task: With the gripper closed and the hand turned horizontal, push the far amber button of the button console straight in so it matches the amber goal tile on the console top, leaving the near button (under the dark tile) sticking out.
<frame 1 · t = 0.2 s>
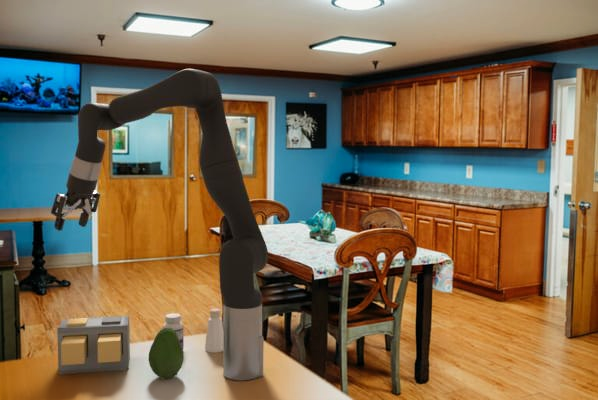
hand: (70, 227, 164), 31 cm above the table, tool tilted 20°, fingers open, 8 cm apart
pepper shaker: (215, 350, 159), on the table
pill bottle: (173, 351, 157), on the table
fruit: (166, 378, 139), on the table
far button: (75, 348, 140), point 6 cm above the table, slide at 0.0 cm
console: (95, 365, 146), on the table
near button: (110, 345, 141), point 7 cm above the table, slide at 0.0 cm
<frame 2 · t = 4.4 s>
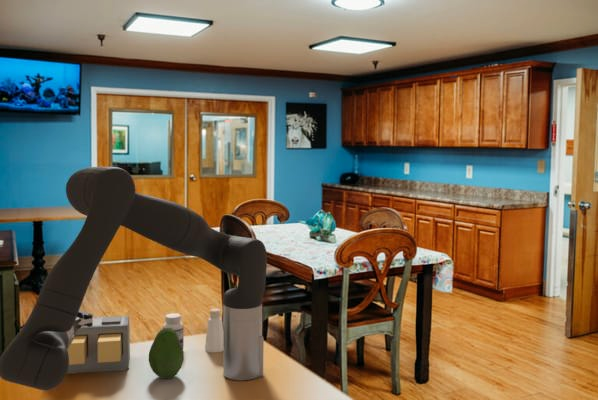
hand: (68, 309, 130), 18 cm above the table, tool horizontal, fingers closed
nothing on the table moved.
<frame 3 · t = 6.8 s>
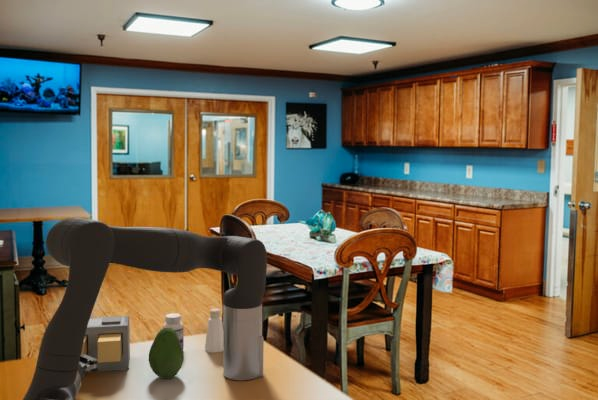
hand: (73, 353, 136), 6 cm above the table, tool horizontal, fingers closed
far button: (75, 347, 140), point 7 cm above the table, slide at 0.6 cm, touching gripper
everything else where it was.
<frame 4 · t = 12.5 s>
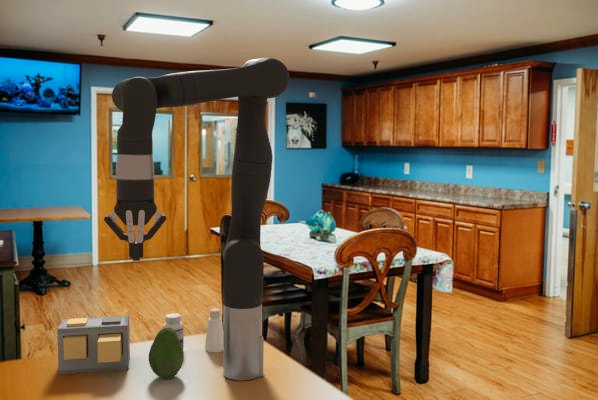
hand: (136, 259, 122), 31 cm above the table, tool pointing down, fingers closed
far button: (77, 343, 143), point 6 cm above the table, slide at 3.5 cm
everything else where it was.
at the end: far button slide at 3.5 cm; near button slide at 0.0 cm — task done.
